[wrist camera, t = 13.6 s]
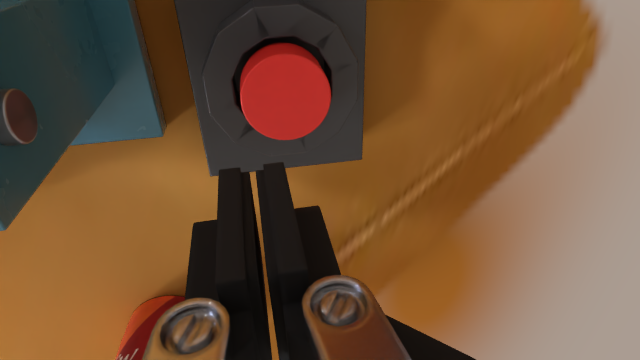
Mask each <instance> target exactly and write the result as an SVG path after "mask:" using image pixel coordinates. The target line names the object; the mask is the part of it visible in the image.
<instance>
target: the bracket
mask: <svg viewBox="0 0 640 360" xmlns="http://www.w3.org/2000/svg"><path fill="white" fill-rule="evenodd" d="M165 130H166V122H165V118H164V114H163V110H162V106H161V103H160V99H159V95H158V91H157V87H156V83H155V79H154V75H153V71H152V67H151V63H150V59H149V55H148V51H147V47H146V43H145V40H144V36H143V32H142V28H141V24H140V20H139V16H138V12H137V8H136V4H135V0H0V231H4V230H6V229H7V228H8V227H9V225H10V224H11V223H12V221H13V220H14V219H15V217H16V216H17V215H18V213H19V212H20V211H21V209H22V208H23V207H24V205H25V204H26V203H27V201H28V200H29V199H30V197H31V196H32V195H33V193H34V192H35V191H36V189H37V188H38V187H39V186H40V184H41V183H42V182H43V180H44V179H45V178H46V176H47V175H48V174H49V172H50V171H51V170H52V168H53V167H54V166H55V164H56V163H57V162H58V160H59V159H60V158H61V156H62V155H63V154H64V152H65V151H66V150H67V148H68V147H69V146H71V145H82V144H92V143H102V142H112V141H122V140H132V139H143V138H153V137H162V136H163V135H164V132H165Z"/></svg>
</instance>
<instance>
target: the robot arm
mask: <svg viewBox="0 0 640 360" xmlns="http://www.w3.org/2000/svg"><path fill="white" fill-rule="evenodd" d="M263 168H264V170H256V179H257V188H258V197H259V206H260V215H261V224H262V233H263V242H264V252H265V261H266V269H267V277H268V285H269V292H270V299H271V305H272V312H273V319H274V326H275V333H276V340H277V347H278V354H279V360H476V359H474V358H472V357H470V356H468V355H466V354H464V353H462V352H460V351H458V350H456V349H454V348H452V347H450V346H448V345H446V344H444V343H442V342H440V341H437V340H436V339H433V338H432V337H430V336H427V335H426V334H424V333H421V332H419V331H417V330H415V329H413V328H411V327H409V326H407V325H405V324H403V323H401V322H399V321H397V320H395V319H393V318H391V317H389V316H387V315H385V314H384V312H383V311H382V309H381V307H380V305H379V304H378V302H377V300H376V299H375V297H374V295H373V294H372V292H371V291H370V290H369V288H368V287H367V286H366V285H365V284H364V283H362V282H361V281H359V280H358V279H355V278H352V277H349V276H343V275H341V273H340V270H339V267H338V263H337V260H336V257H335V254H334V251H333V248H332V244H331V241H330V238H329V235H328V232H327V229H326V225H325V222H324V219H323V216H322V213H321V210H320V207H319V206H311V207H304V208H296V209H294V206H293V202H292V198H291V193H290V189H289V184H288V180H287V175H286V171H285V167H284V162H277V163H269V164H263ZM142 360H272V353H271V343H270V333H269V323H268V313H267V304H266V294H265V284H264V274H263V264H262V255H261V247H260V241H259V234H258V227H257V221H256V214H255V207H254V201H253V194H252V187H251V181H250V174H249V171H248V172H241V168H240V167H236V168H228V169H220V170H219V180H218V211H217V220H210V221H203V222H196V223H194V224H193V229H192V239H191V248H190V257H189V266H188V275H187V284H186V293H185V301H182V302H180V303H178V304H176V305H174V306H173V307H171V308H170V309H168V310H167V311H165V313H164V314H163V315H162V316H161V317H160V318H159V319H158V320H157V322H156V324H155V326H154V328H153V330H152V332H151V335H150V338H149V341H148V344H147V346H146V349H145V352H144V355H143V358H142Z"/></svg>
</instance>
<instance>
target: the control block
mask: <svg viewBox="0 0 640 360" xmlns="http://www.w3.org/2000/svg"><path fill="white" fill-rule="evenodd" d="M174 3H175V8H176V13H177V17H178V22H179V27H180V32H181V37H182V42H183V47H184V51H185V56H186V61H187V66H188V71H189V76H190V80H191V85H192V90H193V95H194V100H195V105H196V110H197V114H198V119H199V124H200V129H201V134H202V139H203V144H204V148H205V153H206V158H207V163H208V168H209V173H210V176H218V175H219V170H220V169H228V168H236V167H240V168H241V172H248V171H249V172H254V171H256V170H264V168H263V164H269V163H277V162H284V167H285V168H290V167H299V166H308V165H317V164H326V163H335V162H344V161H353V160H361V159H362V143H363V107H364V71H365V34H366V0H174ZM283 42H285V43H292V44H296V45H298V46H301V47H303V48H304V49H306V50H308V51H309V52H310V53H311V54H312V55H313V56H314V57H315V58H316V59H317V61H318V62H319V64H320V66H321V68H322V69H323V71H324V73H325V75H326V77H327V79H328V81H329V84H330V88H331V103H330V107H329V110H328V113H327V115H326V117H325V118H324V120H323V121H322V123H321V124H320V125H319V126H318V127H317V128H316V129H315V130H313V131H312V132H311V133H309V134H307V135H305V136H303V137H300V138H297V139H292V140H278V139H273V138H270V137H267V136H265V135H263V134H261V133H260V132H258V131H257V130H256V129H254V128H253V127H252V126H251V125H250V124H249V122H248V121H247V119H246V118H245V116H244V114H243V111H242V108H241V102H240V78H241V73H242V70H243V67H244V66H245V64H246V62H247V61H248V59H249V58H250V57H251V56H252V55H253V54H254V53H255V52H256V51H257V50H259V49H261V48H262V47H264V46H267V45H269V44H273V43H283Z"/></svg>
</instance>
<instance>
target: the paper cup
mask: <svg viewBox="0 0 640 360" xmlns="http://www.w3.org/2000/svg"><path fill="white" fill-rule="evenodd" d="M182 301H185V297H182V296H162V297H157V298H154V299H151V300H148V301H146V302H145V303H143V304H141V305H140V306H139V307H138V308H137V309H136V310H135V311H134V313H133V314H132V316H131V318H130V321H129V323H128V326H127V328H126V331H125V334H124V336H123V339H122V342H121V344H120V347H119V350H118V353H117V355H116V358H115V360H142V358H143V355H144V352H145V349H146V346H147V344H148V341H149V338H150V335H151V332H152V330H153V328H154V326H155V324H156V322H157V320H158V319H159V318H160V317H161V316H162V315H163V314H164V313H165V311H167V310H168V309H170V308H171V307H173V306H174V305H176V304H178V303H180V302H182Z"/></svg>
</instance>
